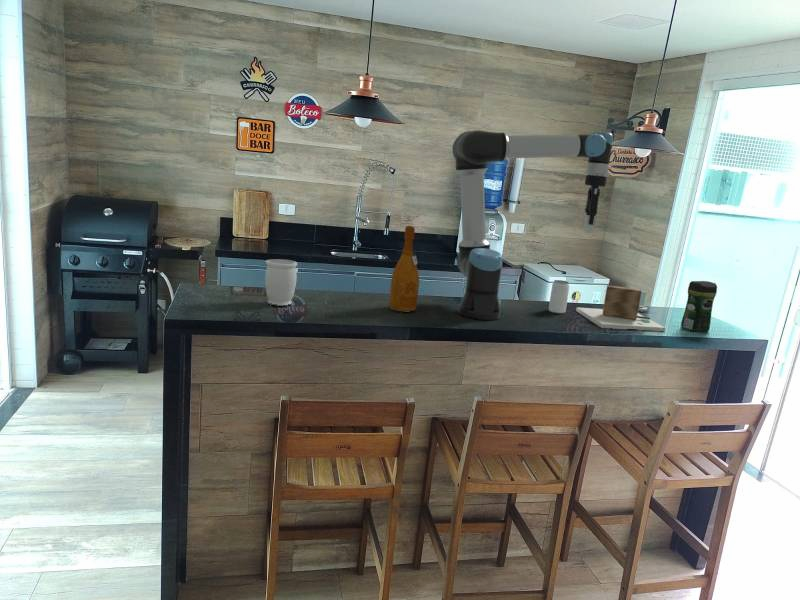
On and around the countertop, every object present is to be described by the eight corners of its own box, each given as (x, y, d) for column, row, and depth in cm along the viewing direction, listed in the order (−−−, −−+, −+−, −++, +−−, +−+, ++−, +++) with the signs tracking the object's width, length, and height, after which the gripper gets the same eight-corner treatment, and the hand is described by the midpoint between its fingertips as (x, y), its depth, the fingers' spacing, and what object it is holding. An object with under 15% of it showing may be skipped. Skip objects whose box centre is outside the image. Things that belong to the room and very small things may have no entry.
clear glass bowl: (635, 315, 241) (639, 297, 239) (617, 307, 252) (620, 290, 250) (660, 315, 244) (663, 297, 242) (641, 308, 255) (644, 291, 254)
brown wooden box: (602, 314, 225) (607, 286, 222) (602, 313, 228) (607, 285, 225) (649, 321, 221) (655, 292, 218) (648, 319, 224) (654, 291, 221)
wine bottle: (397, 314, 206) (404, 227, 199) (384, 307, 214) (391, 224, 207) (421, 312, 211) (429, 228, 204) (407, 306, 219) (415, 224, 212)
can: (563, 310, 234) (568, 280, 232) (566, 314, 228) (571, 284, 226) (547, 308, 235) (551, 279, 232) (549, 312, 229) (554, 282, 226)
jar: (263, 307, 199) (265, 263, 195) (264, 300, 209) (265, 258, 205) (295, 308, 201) (298, 265, 198) (294, 301, 211) (296, 259, 207)
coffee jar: (695, 326, 228) (705, 279, 223) (712, 332, 220) (723, 283, 216) (676, 326, 224) (685, 278, 220) (692, 332, 217) (702, 283, 213)
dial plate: (601, 327, 212) (602, 323, 212) (576, 311, 235) (576, 306, 235) (664, 331, 215) (665, 327, 214) (633, 314, 238) (634, 310, 238)
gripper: (610, 176, 210) (601, 235, 215) (603, 176, 234) (594, 229, 238) (588, 174, 211) (579, 233, 216) (583, 174, 235) (575, 227, 240)
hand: (587, 231), depth 227 cm, fingers open, 13 cm apart
